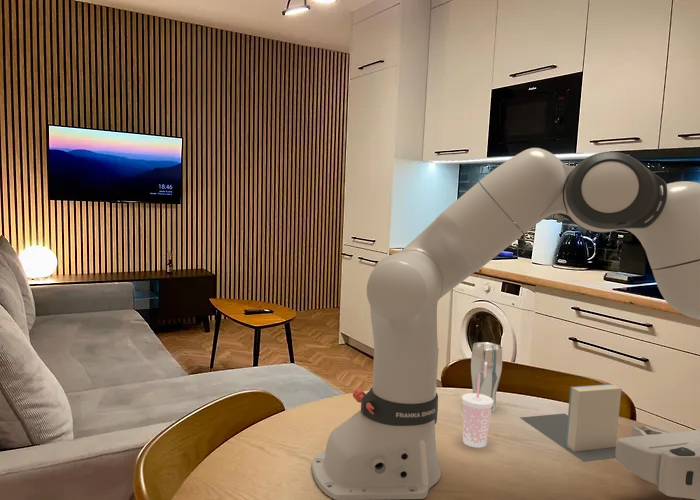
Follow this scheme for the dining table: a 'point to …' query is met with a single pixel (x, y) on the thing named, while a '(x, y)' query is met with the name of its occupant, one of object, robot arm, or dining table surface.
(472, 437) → the beverage cup
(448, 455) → the dining table surface
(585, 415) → the tile
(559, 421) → the mat
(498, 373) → the beer glass
